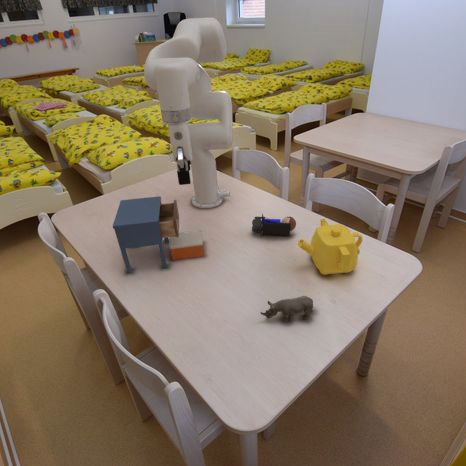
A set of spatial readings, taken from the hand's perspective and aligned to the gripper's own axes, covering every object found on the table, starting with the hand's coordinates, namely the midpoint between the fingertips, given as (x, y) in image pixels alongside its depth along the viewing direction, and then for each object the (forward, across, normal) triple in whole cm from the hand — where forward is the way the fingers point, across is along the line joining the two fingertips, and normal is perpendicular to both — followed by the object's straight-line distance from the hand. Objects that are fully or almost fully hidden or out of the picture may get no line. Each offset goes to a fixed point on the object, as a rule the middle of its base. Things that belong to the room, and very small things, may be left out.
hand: (185, 177), depth 96 cm
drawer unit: (+26, 0, +15) cm, 30 cm away
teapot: (+26, -15, -39) cm, 49 cm away
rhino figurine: (+27, -33, -22) cm, 48 cm away
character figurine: (+26, +4, -27) cm, 38 cm away
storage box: (+26, 0, +2) cm, 26 cm away
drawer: (+16, 0, +9) cm, 18 cm away
